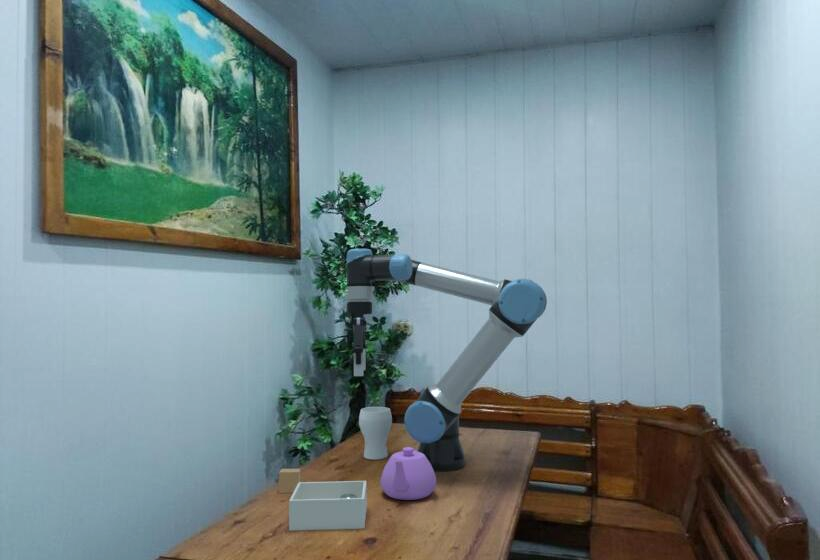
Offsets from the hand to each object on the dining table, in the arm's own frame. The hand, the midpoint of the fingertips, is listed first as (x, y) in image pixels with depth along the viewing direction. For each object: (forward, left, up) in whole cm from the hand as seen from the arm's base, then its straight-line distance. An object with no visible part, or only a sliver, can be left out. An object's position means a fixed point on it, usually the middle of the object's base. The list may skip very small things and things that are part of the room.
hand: (360, 373), depth 158 cm
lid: (+9, +17, -29) cm, 35 cm away
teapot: (-13, +22, -29) cm, 39 cm away
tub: (+5, +36, -29) cm, 46 cm away
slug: (+1, +34, -28) cm, 44 cm away
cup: (-4, -16, -29) cm, 33 cm away
